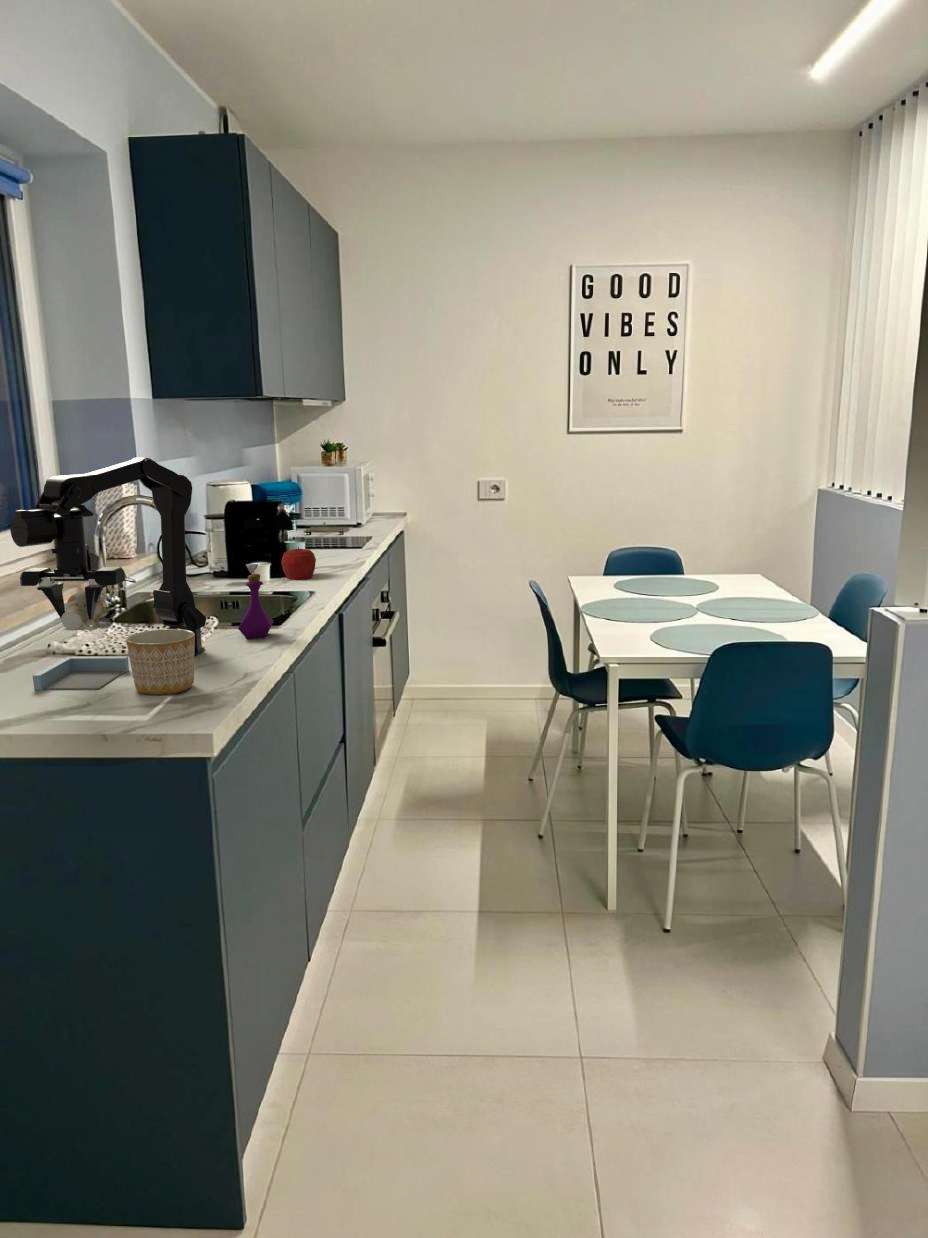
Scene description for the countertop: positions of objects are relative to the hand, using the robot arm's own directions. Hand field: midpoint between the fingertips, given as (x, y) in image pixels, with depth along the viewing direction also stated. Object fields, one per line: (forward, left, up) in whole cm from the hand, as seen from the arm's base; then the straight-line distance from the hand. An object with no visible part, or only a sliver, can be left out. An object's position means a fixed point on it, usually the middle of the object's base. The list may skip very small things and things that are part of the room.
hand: (77, 619), depth 186 cm
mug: (-1, 0, -4) cm, 4 cm away
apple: (-20, -111, -13) cm, 113 cm away
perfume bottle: (-26, -37, -13) cm, 47 cm away
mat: (-1, 0, -13) cm, 13 cm away
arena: (+6, -7, -13) cm, 16 cm away
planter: (-19, +5, -13) cm, 23 cm away
